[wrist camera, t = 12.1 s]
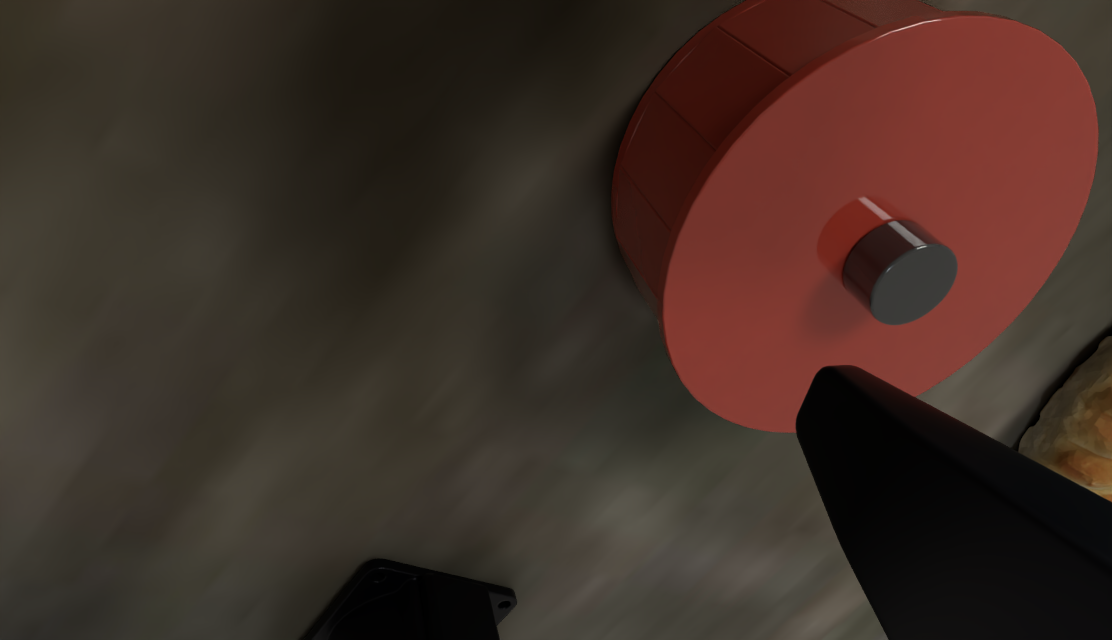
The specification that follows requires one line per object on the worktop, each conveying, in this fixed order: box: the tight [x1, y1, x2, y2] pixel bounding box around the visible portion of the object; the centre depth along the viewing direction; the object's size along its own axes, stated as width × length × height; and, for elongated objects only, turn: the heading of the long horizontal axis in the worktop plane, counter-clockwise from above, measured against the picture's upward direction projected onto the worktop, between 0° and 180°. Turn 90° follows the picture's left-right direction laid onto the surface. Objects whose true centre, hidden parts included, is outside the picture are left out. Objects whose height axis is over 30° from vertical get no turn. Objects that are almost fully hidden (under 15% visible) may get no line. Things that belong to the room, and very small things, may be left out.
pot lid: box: [657, 11, 1099, 433], centre depth 19 cm, size 11×11×2 cm
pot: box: [611, 0, 944, 320], centre depth 21 cm, size 10×10×4 cm
